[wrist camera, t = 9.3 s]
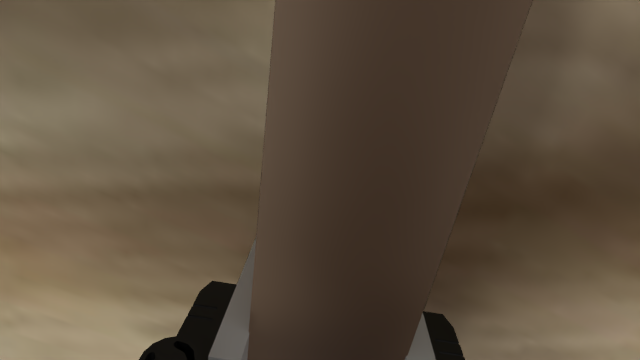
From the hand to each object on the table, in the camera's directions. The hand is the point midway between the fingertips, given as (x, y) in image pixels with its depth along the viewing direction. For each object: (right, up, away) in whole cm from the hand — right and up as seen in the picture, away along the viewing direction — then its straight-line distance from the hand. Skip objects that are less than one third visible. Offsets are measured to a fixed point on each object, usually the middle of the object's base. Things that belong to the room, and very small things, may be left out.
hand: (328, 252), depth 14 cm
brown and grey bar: (0, 0, 0) cm, 0 cm away
